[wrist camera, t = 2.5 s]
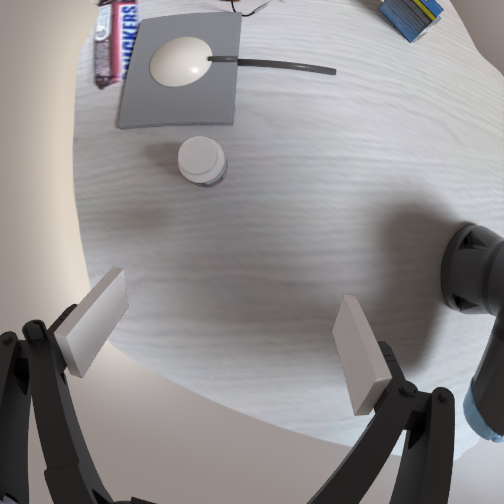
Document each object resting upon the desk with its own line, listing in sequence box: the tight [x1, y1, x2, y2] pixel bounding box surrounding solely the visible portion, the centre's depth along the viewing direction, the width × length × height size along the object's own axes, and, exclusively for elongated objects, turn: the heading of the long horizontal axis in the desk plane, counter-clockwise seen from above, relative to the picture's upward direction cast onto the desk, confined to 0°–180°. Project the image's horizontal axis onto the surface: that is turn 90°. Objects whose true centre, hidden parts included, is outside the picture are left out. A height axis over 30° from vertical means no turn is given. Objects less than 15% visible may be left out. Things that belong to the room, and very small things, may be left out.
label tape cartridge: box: [379, 0, 444, 43], centre depth 27 cm, size 9×4×12 cm, turn 36°
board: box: [118, 12, 336, 129], centre depth 33 cm, size 30×20×2 cm, turn 87°
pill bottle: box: [178, 136, 228, 188], centre depth 31 cm, size 5×5×9 cm
